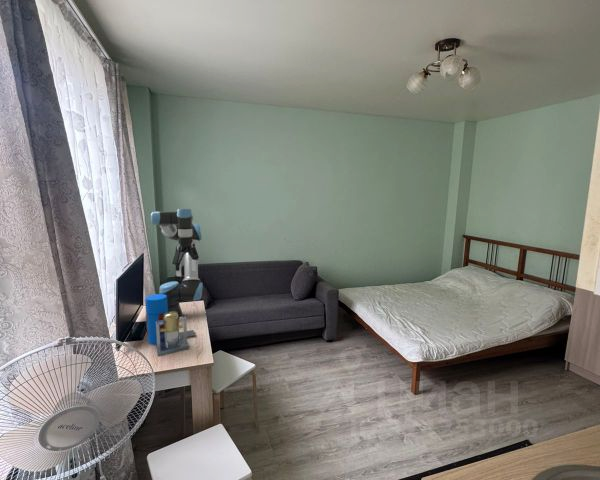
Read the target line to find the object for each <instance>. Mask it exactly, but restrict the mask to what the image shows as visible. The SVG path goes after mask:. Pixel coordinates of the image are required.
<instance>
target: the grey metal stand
mask: <svg viewBox="0 0 600 480" xmlns="http://www.w3.org/2000/svg"><path fill="white" fill-rule="evenodd" d="M178 320H179V322H182V325H183V328H182V329H183V330H182V332H184V338H180V336H179V332H180V329H178V330H176V331H174V332H173V333H171V332H165V331H164V332H165V341H164V342H160V332H159V325H161V324H163V320H160V321H156V335H157V343H156V345H155V348H156V349H155V350H156V355H157V356H156V357H159V356H164V355H169V354H174V353H178V352H184V351H188V350H190V346H189V345H190V344H189V342H188V341H189V340H188V338H187V331H188V328H187V327H188V325H187V324H188V323H187V316H182V317H179V319H178Z"/></svg>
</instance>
